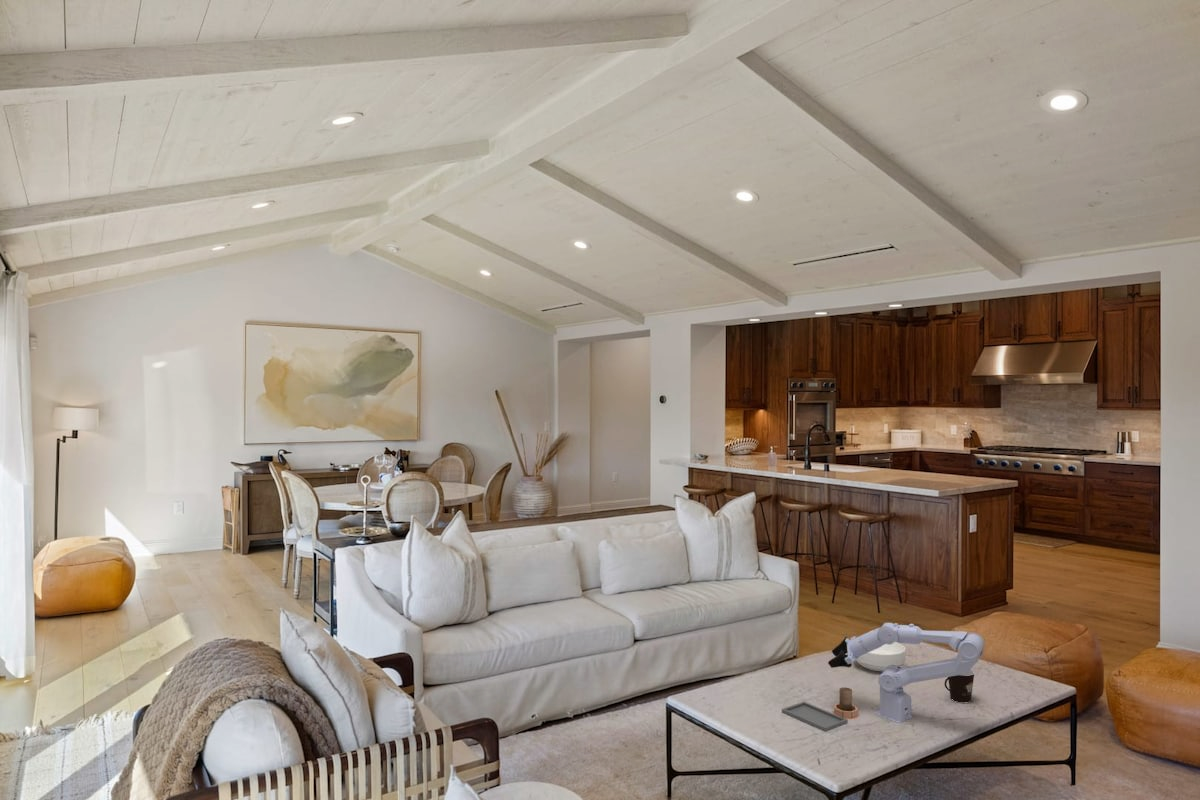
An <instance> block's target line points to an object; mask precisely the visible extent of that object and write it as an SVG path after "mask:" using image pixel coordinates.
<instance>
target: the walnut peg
mask: <svg viewBox="0 0 1200 800" xmlns="http://www.w3.org/2000/svg"><path fill="white" fill-rule="evenodd" d="M838 691H839V692H838V693H839V696H838V697H839V701H838V703H839V709H840V710H842V711H852V705H853V690H852V689H851V688H850V687H840V688H839V690H838Z"/></svg>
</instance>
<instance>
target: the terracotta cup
mask: <svg viewBox="0 0 1200 800" xmlns="http://www.w3.org/2000/svg"><path fill="white" fill-rule="evenodd" d="M832 713H833V714H835V715H838V716H840V717H842V718H845V719H847V720H855V719H858V718H859V716H860V714H859V709H858V706H857V705H855V704H852V711H842V710H840V709H839V702H838V703H835V704H833V710H832Z"/></svg>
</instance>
